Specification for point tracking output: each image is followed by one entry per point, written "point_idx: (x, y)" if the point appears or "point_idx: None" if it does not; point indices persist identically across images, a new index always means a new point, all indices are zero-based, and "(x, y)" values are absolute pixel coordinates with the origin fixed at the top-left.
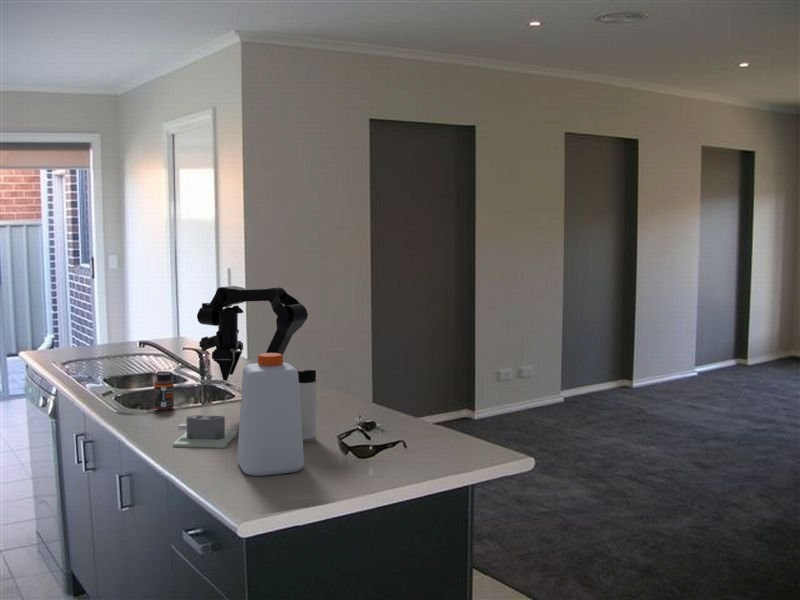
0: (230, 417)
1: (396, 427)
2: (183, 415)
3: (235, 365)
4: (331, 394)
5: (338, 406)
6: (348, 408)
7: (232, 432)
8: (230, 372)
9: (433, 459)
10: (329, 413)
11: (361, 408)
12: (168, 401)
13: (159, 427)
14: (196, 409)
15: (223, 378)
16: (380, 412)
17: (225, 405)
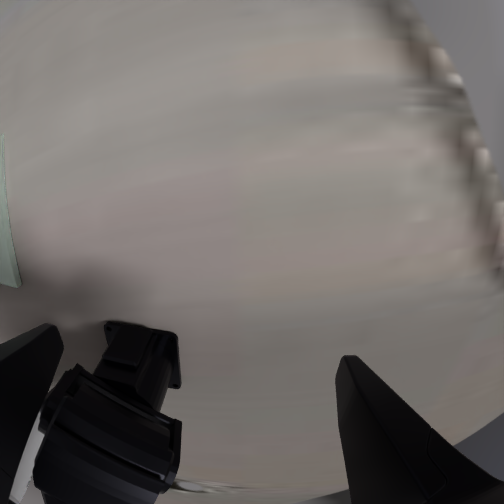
0: (205, 238)
1: (169, 497)
2: (244, 13)
3: (347, 473)
4: (449, 438)
5: (334, 469)
6: (311, 479)
7: (4, 276)
8: (343, 380)
9: None
10: (266, 464)
11: (307, 488)
12: None
13: (58, 9)
14: (370, 57)
15: (35, 334)
16: (270, 500)
17: (437, 190)
